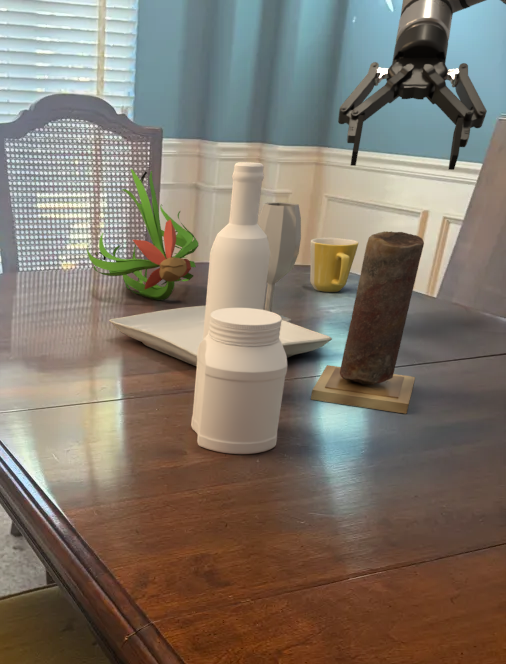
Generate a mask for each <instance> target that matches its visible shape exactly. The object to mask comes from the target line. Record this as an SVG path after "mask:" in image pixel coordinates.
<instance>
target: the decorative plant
mask: <svg viewBox="0 0 506 664" xmlns="http://www.w3.org/2000/svg"><path fill="white" fill-rule="evenodd" d="M129 169H130V172H131V175H132V179H133V182H134V184H135V187H136V190H137V193H138V197H139V200H140V202H138V200H137V198H136V196H135V194H133V193H132V192H131V191H129V190H128V189H126V188H122V189H121V192H122V191H123V192H125V193H126V194H127V196H129V197H130V198H131V199H132V201H133V202H134V203H135V205H136V207H137V209H138V210H139V212H140V215H141V217H142V219H143V222H144V225H145V227H146V230H147V232H148V235H149V237H150V240H151V242H150V241H147V240H144V239H143V240H142V239H131V240H132V242H133V243H134V244H135V245H134V248H133V252H132V258H120V257H118V256H116V254H117V252H118V250H119V248H120V247H121V244H120V245H117V246H116V247H115V248H114V249H113V251H112V254H111V253H110V252H108V250H107V249H106V247H105V245H104V241H103V237H104V236H105V234H104V233H103V232H102V233H101V234H100V237H99V241H98V248H99V251H97V252H96V251H95V253H94V255H95V256H96V257H97V258H96V257H95V256H94V255H92V254H91V252H90V251H89V249H88V247H89V245H87V246H86V253H87V256H88V259H89V260H90V262H91V263H92V265H93V270H94V271H95V272H97V273H99V274H101V275H104V276H108V277H121V276H122V280H123V282H124V285H125V287H126V288H127V289H128V290H129V291H131V293H133V294H136V295H139V296H141V297H144V298H148V299H151V300H155V301H164V300H166V299H168V298H169V297H171V295H172V293H173V291H174V289H175V285H176V284H175V282H176V283H177V282H188V281H190V280H191V279H193V278H194V275H193V274H191V273H190V271H191V270H192V268H197V267H196V263H195V261H194V260H189V259H187V256H188V255H190V254H193V253H195V252H196V250H197V249H198V247H199V241H198V240H197V238H196V237H195V235H194V234H193V233H192V232H191V231H190V230H189V229H188V228H187V227H186V226H185V224H183V223H182V222H180V224H181V225H182V226H181V225H180V224H179V223H178V222H176V221H175V220H174V219H173V218H172V217H170V215H169V214H168V213H167V212H166V211H165V210H164V209H163V204H162V203H160V206H159V203H158V199H157V193H156V190H155V186H154V181H153V170H151V171H150V173H149V175H148V176H149V177H148V181H149V188H150V189H149V190H150V194H151V202H150V198H149V195H148V193H147V191H146V188H145V187H144V184H143V181H144V179H145V177H146V176H147V174H148V171H144V173H143V174H142V175H141V177H140V178H139V176H138V174H137V173H136V172H135V171H134V170H133V168H129ZM159 209H160V211H161V214H162V215H163V217H164V219H165V220H166V221H165V226H164V230H163V229H162V226H161V219H160V212H159ZM180 213H181V210H179V211H178V212H177V219H178V220H180ZM136 247H137V248H138V249H139V251H140V252H141V253H142V255H144V257H145V258H147V259H145V258H143V259H142V258H136ZM175 248H177V249H179V251H178V252H177V253H176V252H175ZM98 254H100V255H102V256H103V258H102V259H101V258H98V257H99V255H98ZM173 254H175V255H173ZM106 259H109V260H112V261H107V260H106ZM96 267H97V268H99V269H102V270H106V271H108V272H102V271H101V272H100V271H98V270H97V268H96ZM155 268H156V269H155ZM151 269H154V270H153V271H152V272H151V273H150V274H149V276H148V270H151ZM142 271H145V272H144V275H143V272H142ZM130 274H133V275H134V276H135V277H137V280H136V279H134V278H132V277H131V276H129V275H130ZM147 277H148V278H147ZM182 278H183V279H182ZM161 281H164V282H163V283H160V282H161ZM144 283H145V284H144ZM159 283H160V285H158V284H159ZM163 285H164V286H163ZM131 288H133V289H135V290H136V291H134V290H133V289H131ZM137 291H138V292H137Z"/></svg>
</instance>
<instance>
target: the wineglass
mask: <svg viewBox="0 0 506 664" xmlns="http://www.w3.org/2000/svg"><path fill="white" fill-rule="evenodd" d="M257 224H258V225H259V226H260V228H261V229H262V230H263V232H264V233H265V234H266V235H267V239H268V243H269V249H270V258H269V266H268V274H267V283H266V292H265V300H264V308H263V310H265V311H270V312H273V304H274V298H275V297H274V295H275V288H276V283H278V282H279V281H281V279H282V278H283V277H285V276H286V275H287V274H289V273H290V272H291V271H292V270H293V269H294V267H295V264H296V261H297V260H298V257H299V254H300V248H301V247H300V246H301V240H302V217H301V211H300V205H299V204H297V203H293V202H281V201H273V202H272V201H269V202H264V203H263V205H262V208H261V210H260V212H259V213H258V222H257ZM278 315H279V316H280V317H281V318H282V320H284V321H286V322H289V323H292V318H289V317H286V316H284V315H282V314H278Z"/></svg>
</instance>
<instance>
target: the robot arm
mask: <svg viewBox="0 0 506 664" xmlns="http://www.w3.org/2000/svg"><path fill="white" fill-rule="evenodd" d="M485 1H487V0H402V5H401V12H400V18H399V20H398V25H397V26H398V27H397V31H396V38H395V44H394V45H395V46H394V50H393V57H392V62H391V65H390V66H389V67H388V68H387V67H379V66H380V65H379V63H378V62H376V61H373V62H371V64H370V65H369V68H368V71H367V74H366V75H365V76H364V77H363V79H362V80H360V82H359V84H358V85H356V87H355V88H354V89H353V91H352V92H351V93H350V94H349V95H348V96H347V98H346V99H345V100H344V101H343V103H342V104H341V105H340V106H339V111H338V117H337V122H338V124H339V125H345V124H346V125H348V130H347V135H346V136H347V137H346V143H347V144H353V146H352V153H351V159H350V166H351V167H353V166H354V167H356V166H357V160H358V155H359V149H360V144H361V138H362V133H363V127H364V122H365V121H366V120H368V119H369V118H371V117H372V116H373V115H374V114H376V113H377V112H378V111H379V110H380V109H382V108H384V107H385V106H386V105H387V104H392V103H393V102H394V101H396V100H397V99H398V98H399V97H400V98H401V100H410V99H414V100H424V99H425V98H426V99H427V100H428V101H429V102H430V103H431V104H432V105H436V106H437V107H438V108H439V109H440V111H442V113H444V115H445V116H446V117H447V118H448V119H449V120H450V121H451V122H452V123H453V124H454V129H453V134H452V141H451V142H452V143H451V149H450V155H449V163H448V170H452V171H454V170H455V168H456V165H457V161H458V158H459V156H460V155H459V154H460V148H466V146H467V145H468V143H469V139H470V133H471V129H472V128H474V129H480V128H482V127H483V125H484V121H485V118H486V115H487V109H486V106H485V104H484V103H483V101H482V99H481V96H480V95H479V93H478V90H477V89H476V88H475V86H474V84H473V81H472V80H471V78H470V76H469V65H468V63H465V62H463V63H460V64H459V66H458V68H450V69H449V68H448V67H447V65H446V62H447V54H448V47H449V41H450V37H451V36H450V35H451V29H452V28H451V27H452V20H453V15H454V14H455V13H457V12H460V11H462V10H465V9H468V8H471V7H472V6H475V5H478V4H481V3H483V2H485ZM499 1H500V2H502V4H504V5H506V0H499ZM383 80H386V83H385V84H384V85H383V86H382V87H380V88H379V89H378V90H376V91H375V92H374V93H372V91H373V90H374V88H375V87H377V86H379V84H380V83H381V82H382V81H383ZM446 81H449V82H450V84H451V87H452V88H455V93H456V94H455V93H454V92H453V91H452V90H451V89H450V88H449V87H448V85H447V83H446ZM371 93H372V95H370V94H371ZM369 95H370V96H369ZM367 97H368V98H367Z"/></svg>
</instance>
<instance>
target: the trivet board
mask: <svg viewBox="0 0 506 664" xmlns="http://www.w3.org/2000/svg"><path fill="white" fill-rule="evenodd" d="M340 369H341V366H337V365H329V364H327V365H326V366H325V367H324V369H323V371H322V373H321V374H320V375H319V377H318V379H317V381H316V382H315V385H314V386H313V387H312V390H311V395H310V400H312V401H317V402H318V401H319V402H324V403H329V404H331V403H332V404H336V405H337V404H338V405H343V406H352V407H359V408H365V409H371V410H379V411H385V412H391V413H398V414H403V415H404V414H405V415H406V414H407V413H408V409H409V406H410V401H411V397H412V393H413V389H414V384H415V381H416V377H415V376H411V375H404V374H403V375H402V374H396V373H393V378H391V379H389V380H386V381H384V382H382V383H376V384H374V385H366V384H361V383H359V382H355V381H352V380H350V379H344V378H342V377H341V375H340Z"/></svg>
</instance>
